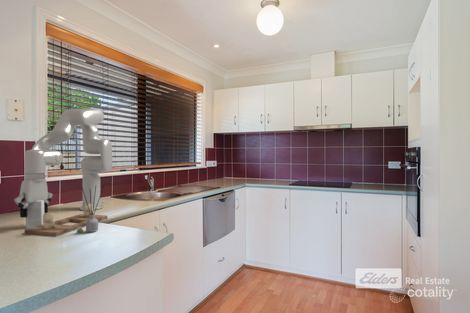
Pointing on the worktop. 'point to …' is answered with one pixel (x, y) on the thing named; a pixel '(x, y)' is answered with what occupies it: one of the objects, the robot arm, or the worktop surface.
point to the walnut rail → (55, 227)
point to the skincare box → (35, 214)
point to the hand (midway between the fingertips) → (34, 214)
